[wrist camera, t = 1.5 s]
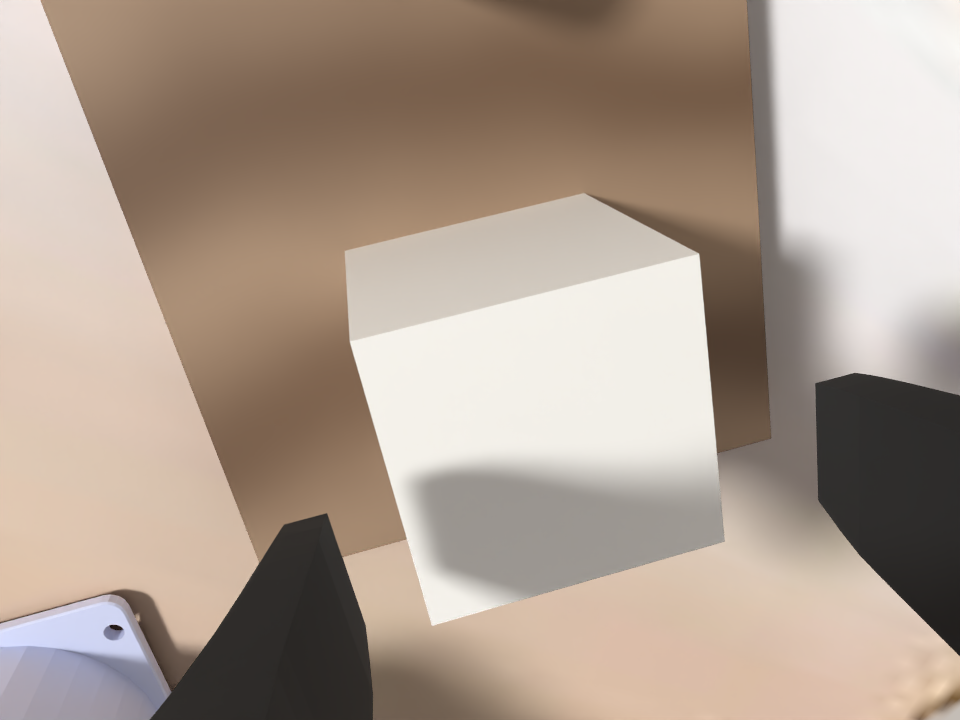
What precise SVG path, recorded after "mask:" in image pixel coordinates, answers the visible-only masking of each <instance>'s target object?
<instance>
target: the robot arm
mask: <svg viewBox="0 0 960 720" xmlns="http://www.w3.org/2000/svg"><path fill="white" fill-rule="evenodd" d="M815 386H816V426H817V465H818V500H819V502H820V503H821V505H822V506H823V507H824V509H825V510H826V511H827V513H828V514H829V516H830V517H831V518H832V520H833V521H834V523H835V524H836V525H837V527H838V528H839V529H840V531H841V532H842V533H843V535H844V536H845V537H846V538H847V540H848V541H849V542H850V543H851V545H852V546H853V547H854V549H855V550H856V551H857V552H858V554H859V555H860V556H861V557H862V558H863V559H864V560H865V561H866V562H867V563H868V564H869V565H870V566H871V567H872V569H873V570H874V571H875V572H876V573H877V574H878V575H879V576H880V577H881V578H882V579H883V580H884V581H885V582H886V583H887V584H888V585H889V586H890V587H891V588H892V589H893V590H894V591H895V592H896V593H897V594H898V595H899V596H900V597H901V598H902V599H903V600H904V601H905V602H906V603H907V604H908V605H909V606H910V607H911V608H912V609H913V610H914V611H915V612H916V613H917V614H918V615H919V616H920V617H921V618H922V619H923V620H924V621H925V622H926V623H927V624H928V625H929V626H930V627H931V628H932V629H933V630H934V631H935V632H936V633H937V634H938V635H939V636H940V637H941V638H942V639H943V640H944V641H945V642H946V643H947V644H948V645H949V646H950V647H951V648H952V649H953V650H954V651H955V652H956V653H957V654H958V655H959V656H960V396H959V395H955V394H951V393H947V392H943V391H939V390H935V389H931V388H927V387H922V386H918V385H914V384H910V383H906V382H901V381H897V380H892V379H888V378H883V377H878V376H872V375H866V374H859V373H853V374H849V375H845V376H842V377H838V378H834V379H830V380H827V381H823V382H819V383H815ZM109 625H118V626H121V627H122V628H123V630H113V629H111V628H110V627H109ZM372 719H373V691H372V680H371V670H370V660H369V651H368V642H367V634H366V625H365V623H364V620H363V617H362V614H361V611H360V608H359V605H358V602H357V599H356V596H355V593H354V590H353V587H352V585H351V582H350V579H349V576H348V573H347V570H346V567H345V564H344V561H343V558H342V555H341V552H340V549H339V547H338V544H337V541H336V538H335V535H334V532H333V529H332V526H331V523H330V520H329V517H328V514H327V513H326V514H322V515H318V516H314V517H311V518H307V519H303V520H299V521H295V522H292V523H288V524H284V525H283V527H282V528H281V530H280V531H279V533H278V534H277V536H276V537H275V539H274V541H273V542H272V544H271V545H270V547H269V548H268V550H267V552H266V553H265V555H264V557H263V558H262V560H261V561H260V563H259V565H258V566H257V568H256V570H255V571H254V573H253V574H252V576H251V578H250V579H249V581H248V582H247V584H246V586H245V587H244V589H243V591H242V592H241V594H240V595H239V597H238V598H237V600H236V601H235V603H234V604H233V606H232V608H231V609H230V611H229V612H228V614H227V615H226V617H225V618H224V620H223V621H222V623H221V624H220V626H219V627H218V629H217V631H216V632H215V634H214V635H213V636H212V638H211V639H210V640H209V642H208V643H207V645H206V646H205V647H204V649H203V650H202V651H201V653H200V654H199V656H198V657H197V658H196V660H195V661H194V663H193V664H192V665H191V667H190V668H189V669H188V671H187V672H186V674H185V675H184V676H183V678H182V679H181V680H180V682H179V683H178V685H177V686H176V687H175V689H174V690H173V691H172V692H171V690H170V688H169V686H168V684H167V682H166V680H165V678H164V676H163V674H162V671H161V669H160V667H159V665H158V663H157V661H156V659H155V657H154V655H153V653H152V651H151V649H150V647H149V645H148V643H147V641H146V639H145V637H144V634H143V632H142V630H141V628H140V626H139V624H138V622H137V620H136V618H135V616H134V614H133V612H132V610H131V608H130V606H129V604H128V603H127V602H126V600H125V599H123V598H121V597H120V596H116V595H111V594H110V595H102V596H99V597H95V598H91V599H88V600H84V601H81V602H77V603H73V604H70V605H66V606H62V607H59V608H55V609H51V610H48V611H44V612H40V613H37V614H33V615H29V616H26V617H22V618H18V619H15V620H11V621H7V622H4V623H0V720H372Z"/></svg>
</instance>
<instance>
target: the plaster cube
mask: <svg viewBox="0 0 960 720" xmlns="http://www.w3.org/2000/svg"><path fill="white" fill-rule="evenodd" d="M345 266H346V284H347V301H348V319H349V337H350V344H351V348H352V351H353V355H354V358H355V362H356V365H357V368H358V372H359V375H360V379H361V382H362V386H363V389H364V393H365V396H366V399H367V403H368V406H369V410H370V413H371V417H372V420H373V424H374V427H375V431H376V434H377V437H378V441H379V444H380V448H381V451H382V455H383V458H384V462H385V465H386V468H387V472H388V475H389V479H390V482H391V486H392V489H393V493H394V496H395V499H396V503H397V506H398V510H399V513H400V517H401V520H402V524H403V527H404V531H405V534H406V537H407V541H408V544H409V548H410V551H411V555H412V558H413V562H414V565H415V568H416V572H417V575H418V579H419V582H420V586H421V589H422V593H423V596H424V600H425V603H426V606H427V610H428V613H429V617H430V620H431V624H432V626H433V625H436V624H440V623H443V622H447V621H450V620H454V619H457V618H460V617H464V616H467V615H471V614H474V613H478V612H481V611H485V610H488V609H492V608H495V607H499V606H502V605H506V604H509V603H513V602H516V601H520V600H523V599H526V598H530V597H533V596H537V595H540V594H544V593H547V592H551V591H554V590H558V589H561V588H565V587H568V586H572V585H575V584H579V583H582V582H586V581H589V580H592V579H596V578H599V577H603V576H606V575H610V574H613V573H617V572H620V571H624V570H627V569H631V568H634V567H638V566H641V565H645V564H648V563H651V562H655V561H658V560H662V559H665V558H669V557H672V556H676V555H679V554H683V553H686V552H690V551H693V550H697V549H700V548H704V547H707V546H711V545H714V544H717V543H721V542H724V541H725V540H724V528H723V517H722V506H721V494H720V483H719V472H718V460H717V449H716V438H715V427H714V415H713V404H712V393H711V381H710V370H709V359H708V347H707V336H706V325H705V313H704V302H703V291H702V280H701V268H700V257H699V253H697V252H695V251H693V250H691V249H689V248H687V247H685V246H684V245H682V244H680V243H678V242H676V241H674V240H672V239H670V238H668V237H666V236H665V235H663V234H661V233H659V232H657V231H655V230H653V229H651V228H649V227H648V226H646V225H644V224H642V223H640V222H638V221H636V220H634V219H632V218H630V217H629V216H627V215H625V214H623V213H621V212H619V211H617V210H615V209H613V208H611V207H610V206H608V205H606V204H604V203H602V202H600V201H598V200H596V199H594V198H592V197H591V196H589V195H587V194H585V193H583V194H579V195H574V196H570V197H566V198H562V199H558V200H554V201H550V202H545V203H541V204H537V205H533V206H529V207H525V208H520V209H516V210H512V211H508V212H504V213H500V214H496V215H491V216H487V217H483V218H479V219H475V220H471V221H467V222H462V223H458V224H454V225H450V226H446V227H442V228H438V229H433V230H429V231H425V232H421V233H417V234H413V235H409V236H404V237H400V238H396V239H392V240H388V241H384V242H379V243H375V244H371V245H367V246H363V247H359V248H355V249H350V250H346V251H345Z"/></svg>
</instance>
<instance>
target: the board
mask: <svg viewBox="0 0 960 720" xmlns="http://www.w3.org/2000/svg"><path fill="white" fill-rule="evenodd" d="M41 3H42V5H43V8H44V11H45V13H46V16H47V18H48V21H49V23H50V26H51V29H52V31H53V34H54V36H55V39H56V41H57V44H58V47H59V49H60V52H61V54H62V57H63V59H64V62H65V65H66V67H67V70H68V72H69V75H70V77H71V80H72V83H73V85H74V88H75V90H76V93H77V95H78V98H79V101H80V103H81V106H82V108H83V111H84V113H85V116H86V118H87V121H88V124H89V126H90V129H91V131H92V134H93V136H94V139H95V142H96V144H97V147H98V149H99V152H100V154H101V157H102V160H103V162H104V165H105V167H106V170H107V172H108V175H109V178H110V180H111V183H112V185H113V188H114V190H115V193H116V196H117V198H118V201H119V203H120V206H121V208H122V211H123V214H124V216H125V219H126V221H127V224H128V226H129V229H130V231H131V234H132V237H133V239H134V242H135V244H136V247H137V249H138V252H139V255H140V257H141V260H142V262H143V265H144V267H145V270H146V273H147V275H148V278H149V280H150V283H151V285H152V288H153V291H154V293H155V296H156V298H157V301H158V303H159V306H160V309H161V311H162V314H163V316H164V319H165V321H166V324H167V327H168V329H169V332H170V334H171V337H172V339H173V342H174V345H175V347H176V350H177V352H178V355H179V357H180V360H181V362H182V365H183V368H184V370H185V373H186V375H187V378H188V380H189V383H190V386H191V388H192V391H193V393H194V396H195V398H196V401H197V404H198V406H199V409H200V411H201V414H202V416H203V419H204V422H205V424H206V427H207V429H208V432H209V434H210V437H211V440H212V442H213V445H214V447H215V450H216V452H217V455H218V458H219V460H220V463H221V465H222V468H223V470H224V473H225V475H226V478H227V481H228V483H229V486H230V488H231V491H232V493H233V496H234V499H235V501H236V504H237V506H238V509H239V511H240V514H241V517H242V519H243V522H244V524H245V527H246V529H247V532H248V535H249V537H250V540H251V542H252V545H253V547H254V550H255V553H256V555H257V558H258V560H259V563H260V561H261V560H262V558H263V557H264V555H265V553H266V552H267V550H268V548H269V547H270V545H271V544H272V542H273V541H274V539H275V537H276V536H277V534H278V533H279V531H280V530H281V528H282V527H283V525H284V524H288V523H292V522H295V521H299V520H303V519H307V518H311V517H314V516H318V515H322V514H326V513H327V514H328V517H329V520H330V523H331V526H332V529H333V532H334V535H335V538H336V541H337V544H338V547H339V549H340V552H341V555H342V557H344V556H348V555H352V554H355V553H359V552H362V551H366V550H370V549H373V548H377V547H380V546H384V545H388V544H391V543H395V542H398V541H402V540H406V539H407V537H406V534H405V531H404V527H403V524H402V520H401V517H400V513H399V510H398V506H397V503H396V499H395V496H394V493H393V489H392V486H391V482H390V479H389V475H388V472H387V468H386V465H385V462H384V458H383V455H382V451H381V448H380V444H379V441H378V437H377V434H376V431H375V427H374V424H373V420H372V417H371V413H370V410H369V406H368V403H367V399H366V396H365V393H364V389H363V386H362V382H361V379H360V375H359V372H358V368H357V365H356V362H355V358H354V355H353V351H352V348H351V344H350V337H349V319H348V301H347V284H346V266H345V251H346V250H350V249H355V248H359V247H363V246H367V245H371V244H375V243H379V242H384V241H388V240H392V239H396V238H400V237H404V236H409V235H413V234H417V233H421V232H425V231H429V230H433V229H438V228H442V227H446V226H450V225H454V224H458V223H462V222H467V221H471V220H475V219H479V218H483V217H487V216H491V215H496V214H500V213H504V212H508V211H512V210H516V209H520V208H525V207H529V206H533V205H537V204H541V203H545V202H550V201H554V200H558V199H562V198H566V197H570V196H574V195H579V194H583V193H585V194H587V195H589V196H591V197H592V198H594V199H596V200H598V201H600V202H602V203H604V204H606V205H608V206H610V207H611V208H613V209H615V210H617V211H619V212H621V213H623V214H625V215H627V216H629V217H630V218H632V219H634V220H636V221H638V222H640V223H642V224H644V225H646V226H648V227H649V228H651V229H653V230H655V231H657V232H659V233H661V234H663V235H665V236H666V237H668V238H670V239H672V240H674V241H676V242H678V243H680V244H682V245H684V246H685V247H687V248H689V249H691V250H693V251H695V252H697V253H699V257H700V268H701V280H702V291H703V302H704V313H705V325H706V336H707V347H708V359H709V370H710V381H711V393H712V404H713V415H714V427H715V438H716V449H717V453H720V452H724V451H727V450H731V449H734V448H738V447H742V446H745V445H749V444H752V443H756V442H760V441H763V440H767V439H770V438H771V429H770V411H769V393H768V375H767V357H766V339H765V321H764V303H763V284H762V266H761V248H760V230H759V212H758V194H757V176H756V158H755V140H754V122H753V104H752V86H751V68H750V50H749V32H748V14H747V0H41Z"/></svg>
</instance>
